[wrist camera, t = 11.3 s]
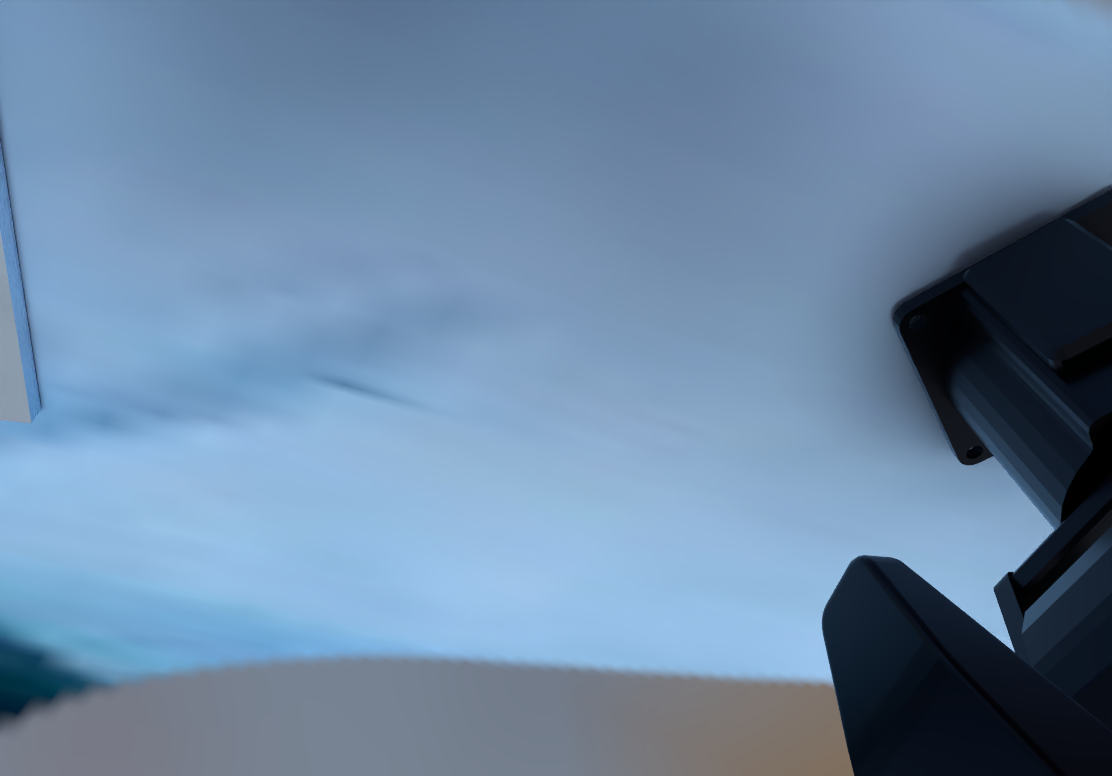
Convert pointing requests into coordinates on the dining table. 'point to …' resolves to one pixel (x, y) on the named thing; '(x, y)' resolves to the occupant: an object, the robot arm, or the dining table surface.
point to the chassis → (14, 326)
